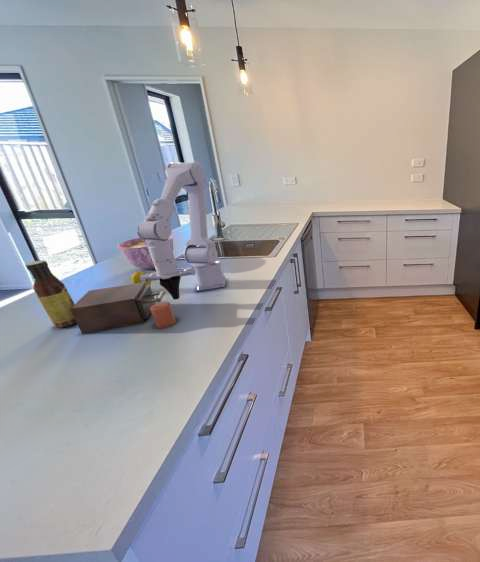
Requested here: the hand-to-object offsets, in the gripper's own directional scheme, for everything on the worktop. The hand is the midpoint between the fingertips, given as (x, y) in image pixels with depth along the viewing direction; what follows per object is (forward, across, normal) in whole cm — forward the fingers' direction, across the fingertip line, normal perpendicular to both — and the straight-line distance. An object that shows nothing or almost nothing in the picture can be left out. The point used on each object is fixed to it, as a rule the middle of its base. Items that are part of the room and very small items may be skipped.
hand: (176, 298), depth 98 cm
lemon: (+4, -14, +20) cm, 25 cm away
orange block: (+3, -2, -10) cm, 11 cm away
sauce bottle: (+4, -30, +3) cm, 31 cm away
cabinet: (+3, -16, 0) cm, 17 cm away
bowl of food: (+4, -18, +50) cm, 53 cm away
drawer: (+2, -12, 0) cm, 13 cm away
